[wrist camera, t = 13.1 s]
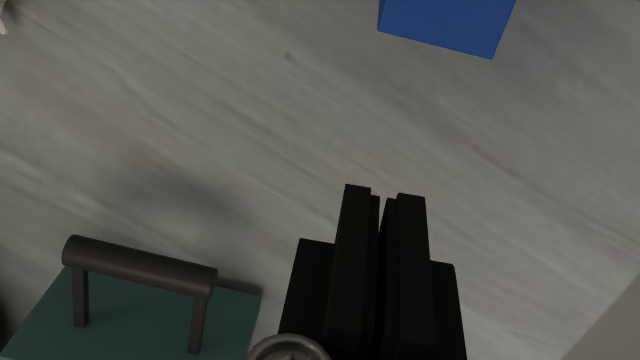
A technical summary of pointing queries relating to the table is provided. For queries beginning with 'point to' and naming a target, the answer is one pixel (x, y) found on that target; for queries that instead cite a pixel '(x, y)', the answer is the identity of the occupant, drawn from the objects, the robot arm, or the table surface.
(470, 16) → the blue cube box
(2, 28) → the white lumpy oblong piece
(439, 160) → the table surface
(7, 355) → the teal drawer
